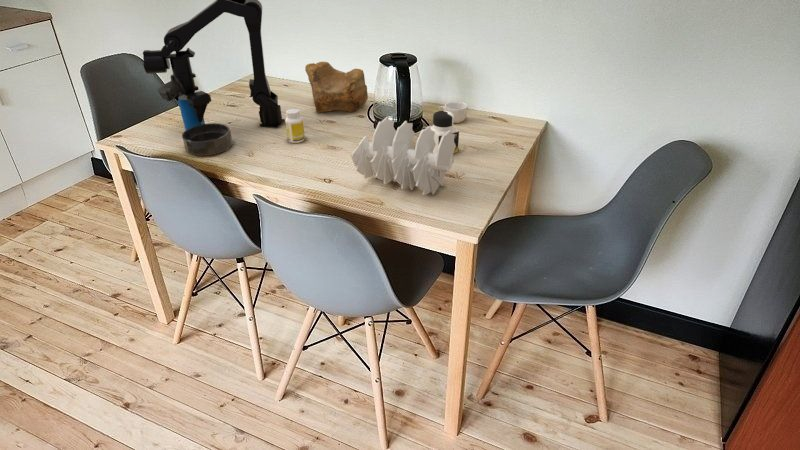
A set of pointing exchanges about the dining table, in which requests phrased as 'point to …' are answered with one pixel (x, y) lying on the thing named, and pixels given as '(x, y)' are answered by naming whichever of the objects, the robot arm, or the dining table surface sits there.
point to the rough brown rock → (336, 87)
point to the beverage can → (188, 113)
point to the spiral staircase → (405, 156)
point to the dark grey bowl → (207, 139)
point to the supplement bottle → (294, 126)
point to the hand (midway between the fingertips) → (192, 118)
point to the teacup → (456, 110)
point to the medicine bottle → (444, 127)
